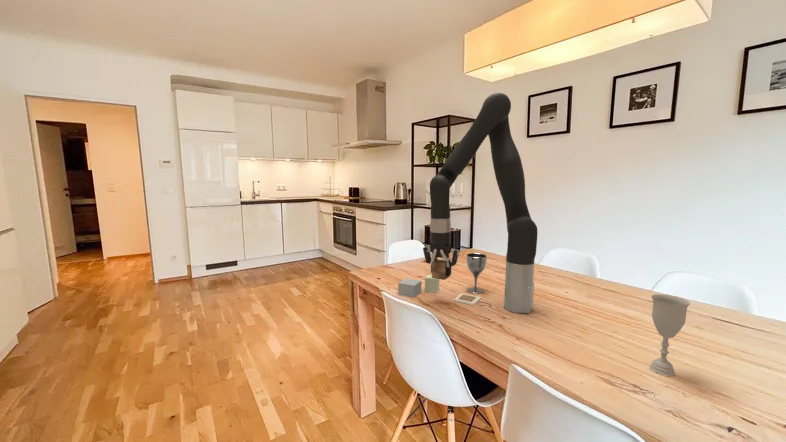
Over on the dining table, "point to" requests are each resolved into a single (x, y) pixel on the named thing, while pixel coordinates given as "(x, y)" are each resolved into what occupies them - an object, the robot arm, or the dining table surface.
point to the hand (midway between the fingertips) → (441, 275)
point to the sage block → (431, 284)
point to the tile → (467, 299)
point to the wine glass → (476, 268)
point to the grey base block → (409, 287)
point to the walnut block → (439, 269)
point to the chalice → (667, 326)
